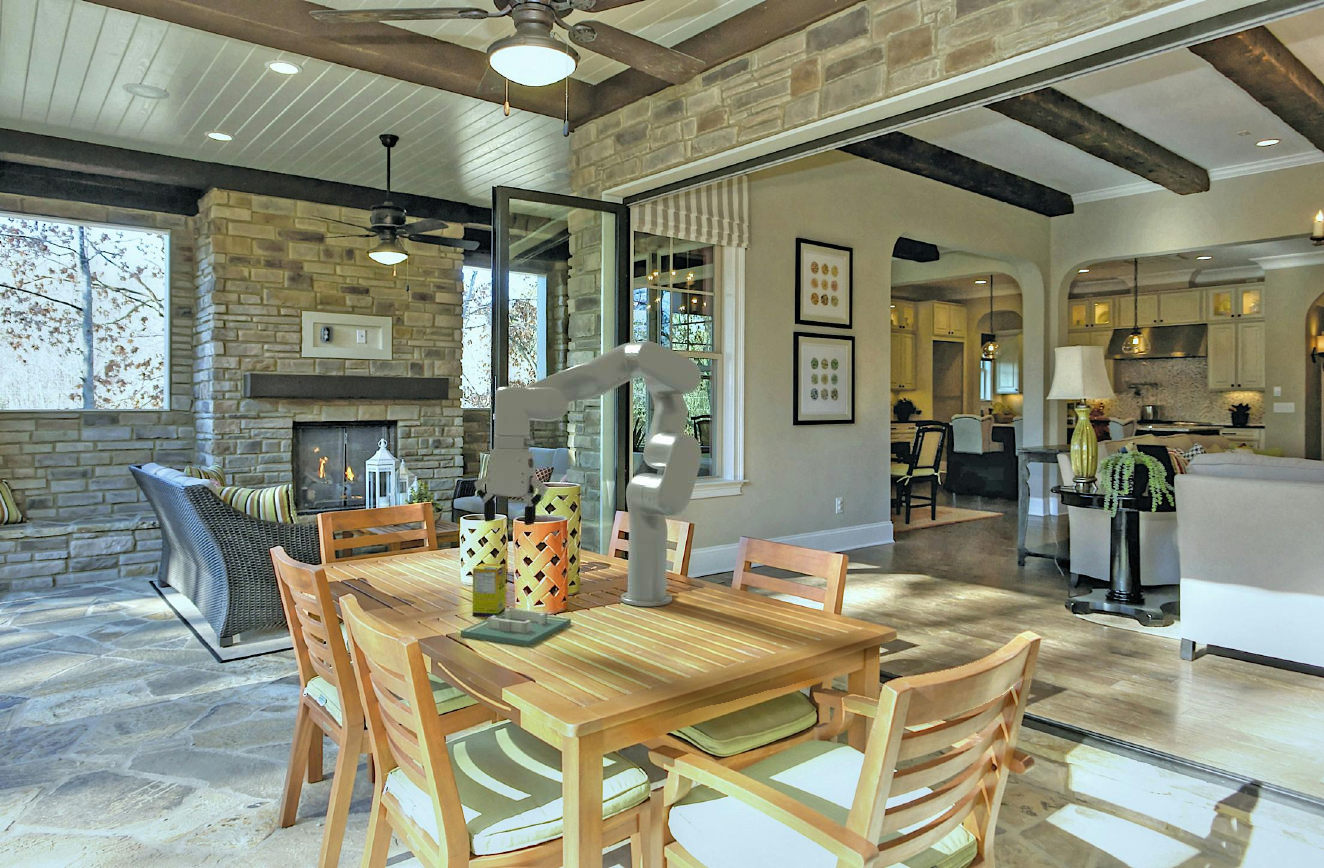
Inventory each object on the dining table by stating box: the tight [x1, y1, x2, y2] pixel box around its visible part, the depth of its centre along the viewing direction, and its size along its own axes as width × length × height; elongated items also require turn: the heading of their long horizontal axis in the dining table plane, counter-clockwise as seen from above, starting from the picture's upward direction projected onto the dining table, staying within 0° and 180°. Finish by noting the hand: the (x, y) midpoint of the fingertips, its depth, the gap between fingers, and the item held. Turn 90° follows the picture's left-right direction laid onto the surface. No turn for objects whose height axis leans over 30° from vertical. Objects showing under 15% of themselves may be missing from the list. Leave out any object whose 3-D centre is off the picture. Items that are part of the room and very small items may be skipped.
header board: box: [460, 607, 572, 648], centre depth 170 cm, size 18×16×3 cm
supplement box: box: [472, 563, 506, 617], centre depth 183 cm, size 6×6×11 cm
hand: (509, 522), depth 174 cm, fingers open, 9 cm apart
